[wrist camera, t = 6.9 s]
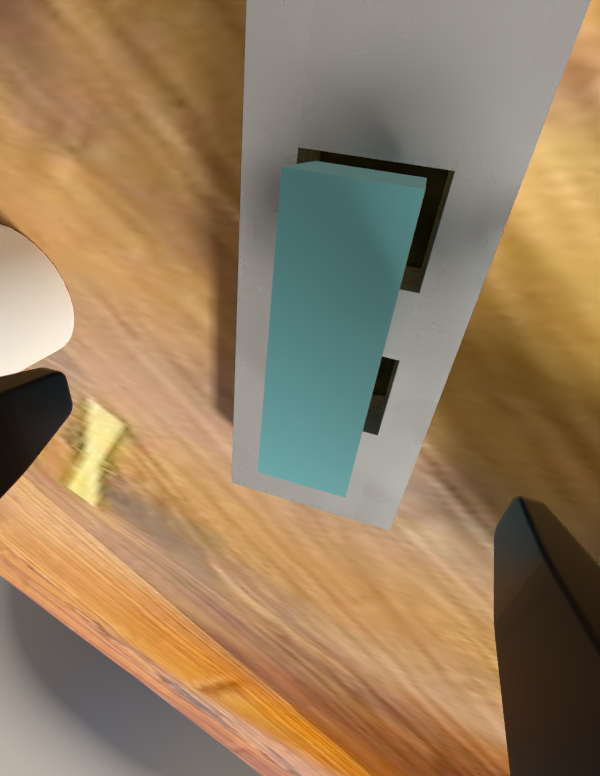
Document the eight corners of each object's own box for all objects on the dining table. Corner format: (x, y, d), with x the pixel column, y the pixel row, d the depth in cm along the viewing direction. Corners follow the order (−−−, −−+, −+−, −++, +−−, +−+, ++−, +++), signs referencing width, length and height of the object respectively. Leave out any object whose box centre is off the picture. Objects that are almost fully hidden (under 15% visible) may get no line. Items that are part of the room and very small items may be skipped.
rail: (394, 485, 21) (389, 530, 19) (253, 445, 23) (231, 482, 20) (587, -57, 10) (636, -120, 8) (289, -74, 12) (250, -133, 9)
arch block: (371, 387, 19) (345, 497, 13) (310, 372, 19) (257, 471, 13) (428, 168, 14) (425, 189, 8) (342, 156, 14) (281, 166, 8)
